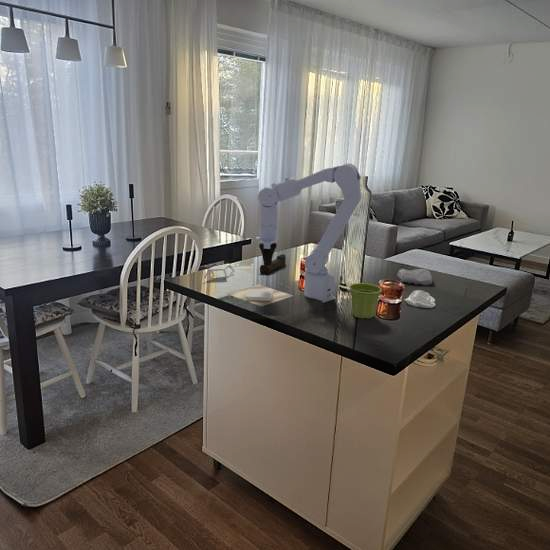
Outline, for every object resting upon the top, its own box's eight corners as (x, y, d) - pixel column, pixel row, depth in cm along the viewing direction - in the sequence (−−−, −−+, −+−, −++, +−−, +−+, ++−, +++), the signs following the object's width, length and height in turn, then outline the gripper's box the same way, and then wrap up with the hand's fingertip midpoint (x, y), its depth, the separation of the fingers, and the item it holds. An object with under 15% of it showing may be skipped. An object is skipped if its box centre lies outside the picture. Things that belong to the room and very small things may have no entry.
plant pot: (357, 307, 150) (359, 281, 148) (384, 315, 145) (387, 287, 142) (341, 315, 143) (343, 287, 141) (369, 323, 138) (372, 295, 135)
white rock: (422, 285, 161) (444, 293, 153) (421, 297, 163) (442, 306, 154) (399, 288, 157) (420, 297, 149) (398, 301, 158) (419, 311, 150)
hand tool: (268, 276, 182) (268, 264, 180) (259, 274, 184) (259, 262, 182) (291, 265, 198) (291, 254, 197) (282, 263, 200) (282, 253, 198)
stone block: (433, 290, 176) (428, 277, 185) (435, 278, 174) (429, 266, 183) (400, 289, 177) (396, 277, 186) (401, 278, 175) (397, 266, 184)
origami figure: (222, 286, 168) (222, 272, 166) (202, 282, 171) (202, 268, 170) (240, 277, 178) (240, 264, 176) (221, 274, 182) (221, 261, 180)
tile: (273, 289, 157) (271, 297, 150) (273, 293, 158) (271, 301, 150) (248, 288, 158) (246, 296, 150) (248, 292, 158) (245, 300, 150)
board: (293, 298, 157) (293, 295, 156) (261, 309, 146) (261, 306, 146) (258, 287, 167) (258, 284, 167) (226, 296, 157) (226, 293, 156)
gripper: (257, 220, 163) (256, 259, 167) (254, 228, 149) (253, 270, 153) (278, 221, 163) (277, 260, 166) (277, 229, 149) (276, 271, 152)
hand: (267, 265), depth 160 cm, fingers closed
